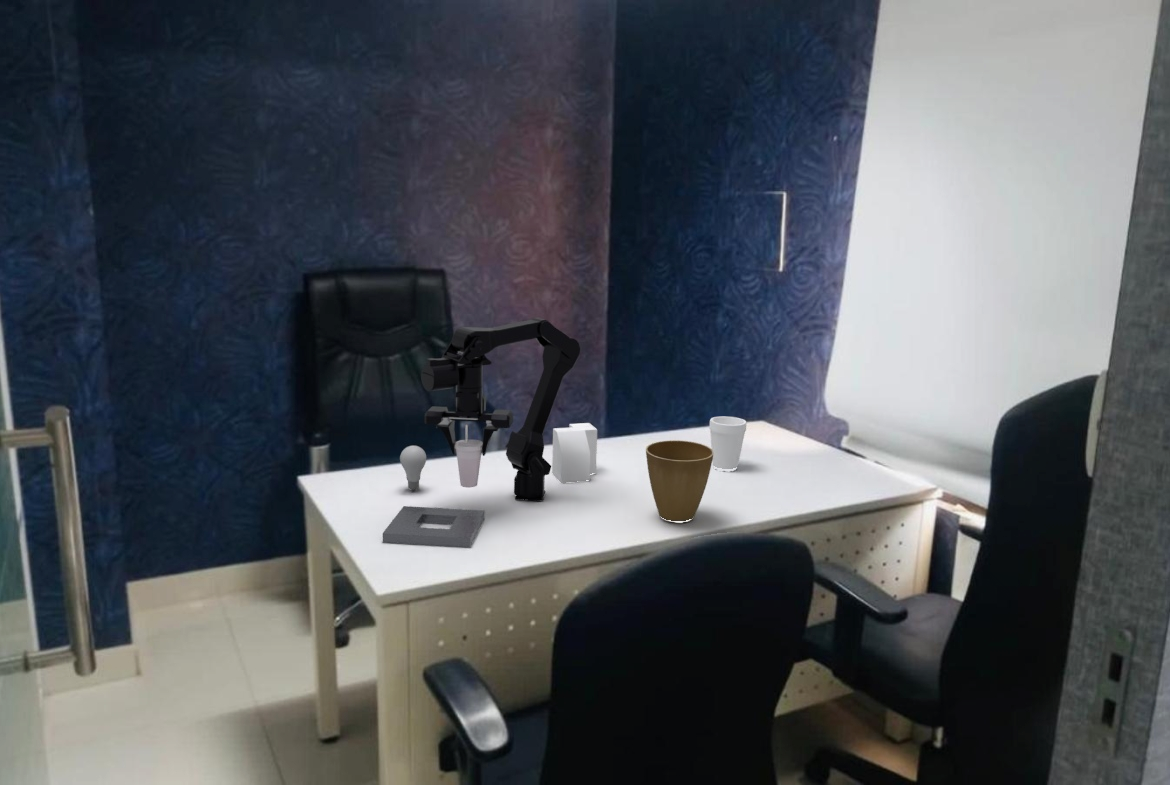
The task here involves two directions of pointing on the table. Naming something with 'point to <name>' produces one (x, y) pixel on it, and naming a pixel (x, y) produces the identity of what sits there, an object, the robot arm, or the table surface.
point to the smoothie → (468, 459)
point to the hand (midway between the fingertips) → (469, 454)
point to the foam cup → (727, 440)
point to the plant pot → (678, 476)
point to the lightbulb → (413, 465)
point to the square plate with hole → (458, 535)
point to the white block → (574, 452)
